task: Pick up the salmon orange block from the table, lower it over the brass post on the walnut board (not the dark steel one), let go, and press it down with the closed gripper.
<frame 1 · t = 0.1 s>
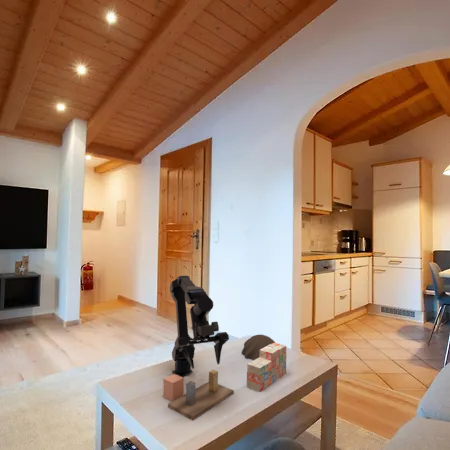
hand: (206, 366, 106), 15 cm above the table, tool tilted 30°, fingers open, 9 cm apart
steel post: (190, 407, 107), resting on board
salmon orange block: (173, 396, 114), on the table
stack of blocks: (267, 380, 128), on the table
brass post: (213, 393, 117), resting on board
board: (202, 400, 112), on the table
decorative dome: (261, 355, 156), on the table
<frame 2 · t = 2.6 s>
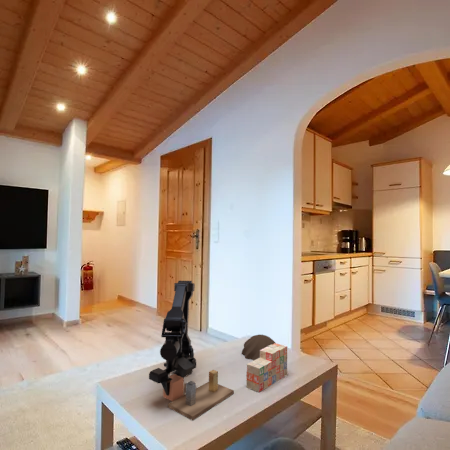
hand: (173, 392, 114), 2 cm above the table, tool pointing down, fingers closed on salmon orange block, 5 cm apart
salmon orange block: (173, 396, 114), on the table, touching gripper
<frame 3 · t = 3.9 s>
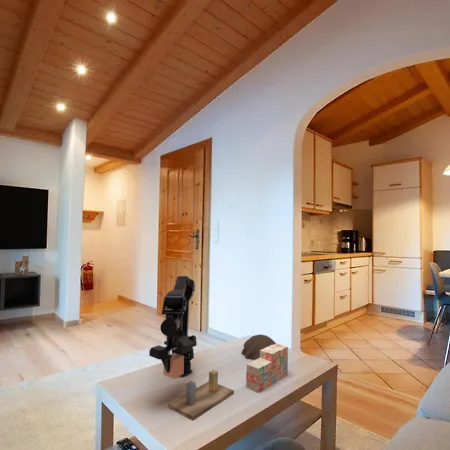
hand: (173, 370, 115), 10 cm above the table, tool pointing down, fingers closed on salmon orange block, 5 cm apart
salmon orange block: (173, 374, 115), point 8 cm above the table, touching gripper
everything else where it was.
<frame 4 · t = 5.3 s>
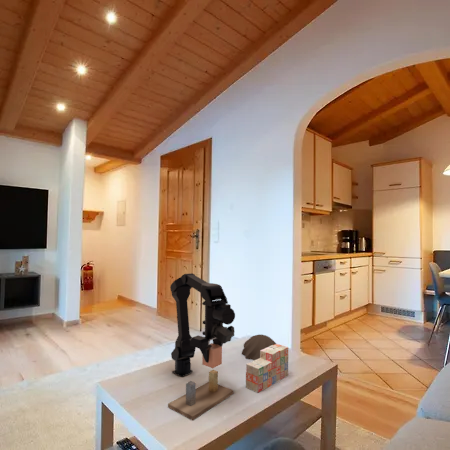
hand: (212, 360, 117), 13 cm above the table, tool pointing down, fingers closed on salmon orange block, 5 cm apart
salmon orange block: (212, 364, 117), point 11 cm above the table, touching gripper
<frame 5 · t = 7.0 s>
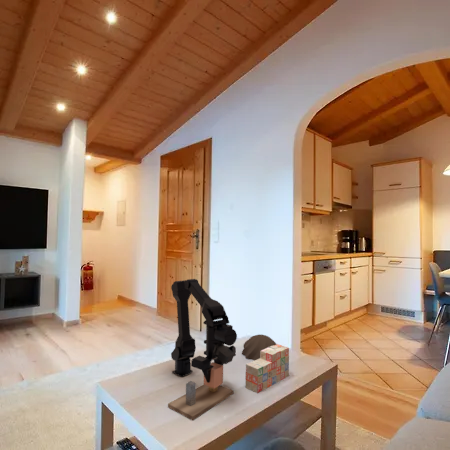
hand: (213, 379, 117), 5 cm above the table, tool pointing down, fingers closed on salmon orange block, 5 cm apart
salmon orange block: (213, 383, 117), point 4 cm above the table, touching gripper
when the fingers open (4 cm above the table, at t = 8.1 s): salmon orange block stays where it is, resting on brass post.
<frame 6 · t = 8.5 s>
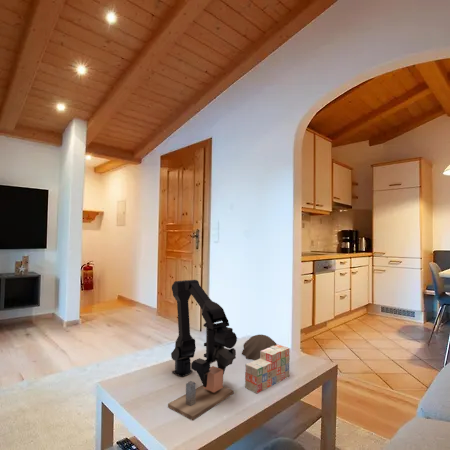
hand: (213, 382, 117), 4 cm above the table, tool pointing down, fingers open, 9 cm apart
salmon orange block: (213, 387, 117), point 2 cm above the table, touching brass post
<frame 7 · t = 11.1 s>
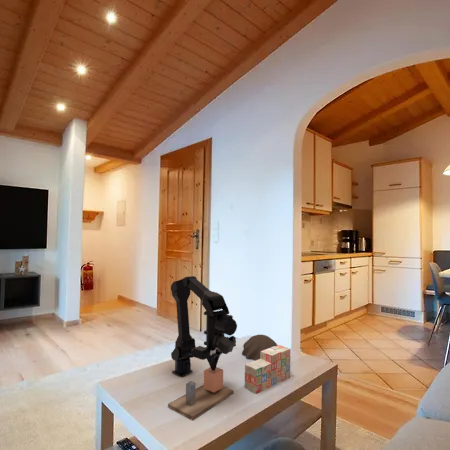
hand: (213, 370, 117), 9 cm above the table, tool pointing down, fingers closed, pressing on salmon orange block
salmon orange block: (213, 387, 117), point 2 cm above the table, touching brass post, gripper
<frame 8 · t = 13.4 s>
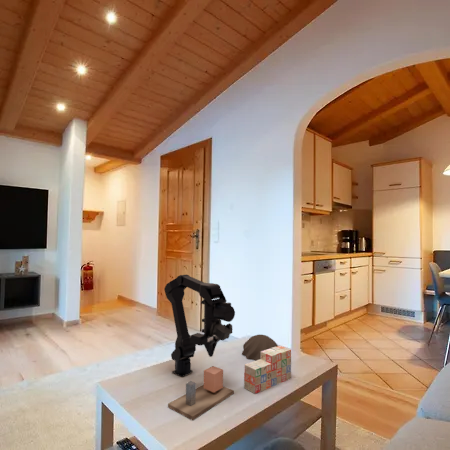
hand: (210, 356, 122), 12 cm above the table, tool pointing down, fingers closed
salmon orange block: (213, 387, 117), point 2 cm above the table, touching brass post
at the end: salmon orange block 0.0 cm from the brass post (horizontally); salmon orange block point 2.2 cm above the table; salmon orange block tilted 0° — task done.
